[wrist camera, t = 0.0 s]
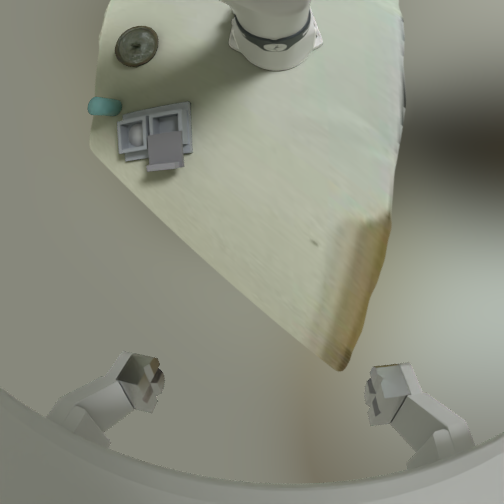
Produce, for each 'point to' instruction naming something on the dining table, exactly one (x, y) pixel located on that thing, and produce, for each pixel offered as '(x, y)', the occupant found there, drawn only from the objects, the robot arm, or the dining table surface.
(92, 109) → the jaw peg
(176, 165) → the slide lid
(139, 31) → the lid
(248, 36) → the robot arm
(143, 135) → the housing
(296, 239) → the dining table surface
